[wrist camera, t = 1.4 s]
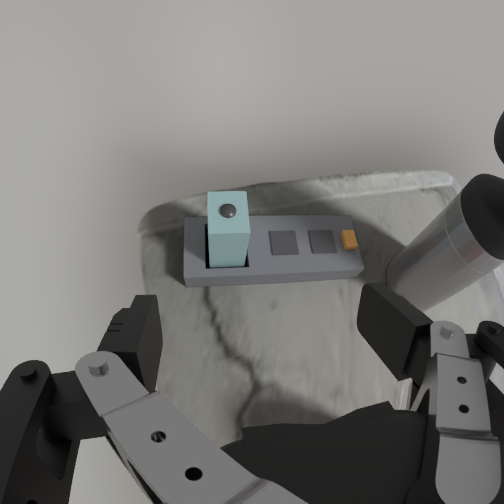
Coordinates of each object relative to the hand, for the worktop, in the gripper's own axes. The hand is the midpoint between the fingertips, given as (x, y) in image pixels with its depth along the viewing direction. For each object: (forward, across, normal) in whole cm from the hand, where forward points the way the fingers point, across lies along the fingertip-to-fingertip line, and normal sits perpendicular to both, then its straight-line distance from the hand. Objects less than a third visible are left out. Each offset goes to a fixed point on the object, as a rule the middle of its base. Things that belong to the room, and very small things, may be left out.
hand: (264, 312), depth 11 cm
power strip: (+27, -6, +7) cm, 28 cm away
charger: (+27, 0, +7) cm, 28 cm away
